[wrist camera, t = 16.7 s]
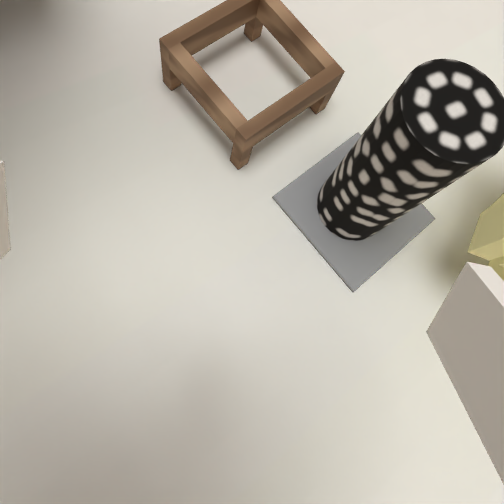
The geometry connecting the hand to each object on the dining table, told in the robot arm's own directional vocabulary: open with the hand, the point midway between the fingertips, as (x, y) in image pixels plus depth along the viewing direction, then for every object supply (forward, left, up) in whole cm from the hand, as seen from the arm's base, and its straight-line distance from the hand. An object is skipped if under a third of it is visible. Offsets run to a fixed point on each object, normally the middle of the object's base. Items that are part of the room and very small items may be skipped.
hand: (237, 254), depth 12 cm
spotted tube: (0, +22, -32) cm, 39 cm away
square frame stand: (-19, +21, -33) cm, 43 cm away
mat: (0, +22, -33) cm, 40 cm away
